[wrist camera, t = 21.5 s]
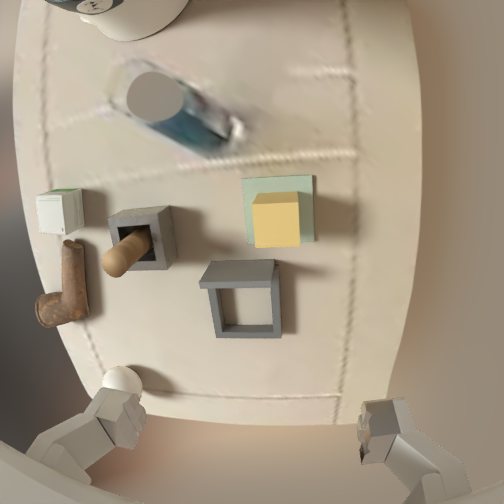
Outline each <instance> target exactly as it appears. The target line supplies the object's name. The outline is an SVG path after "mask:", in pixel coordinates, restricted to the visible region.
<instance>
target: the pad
mask: <svg viewBox="0 0 504 504" xmlns="http://www.w3.org/2000/svg"><path fill="white" fill-rule="evenodd" d="M242 185H243V196H244V206H245V217H246V228H247V238H248V245H250V244H255V237H254V225H253V213H252V203H253V201H254V200H255V198H256V196H257V194H258V193H269V192H291V191H297V194H298V206H299V231H300V243H301V242H314V213H313V187H312V175H297V176H277V177H260V178H245V179H242Z"/></svg>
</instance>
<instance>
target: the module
mask: <svg viewBox="0 0 504 504" xmlns="http://www.w3.org/2000/svg"><path fill="white" fill-rule="evenodd" d="M252 213H253V225H254V237H255V248H267V247H297V246H300V231H299V206H298V194H297V191H291V192H269V193H258V194H257V196H256V198H255V200H254V201H253V203H252Z"/></svg>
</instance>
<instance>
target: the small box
mask: <svg viewBox="0 0 504 504" xmlns="http://www.w3.org/2000/svg"><path fill="white" fill-rule="evenodd" d="M36 207H37V215H38V223H39V230H40V233H44V234H57V235H68V234H70V233H72V232H73V231H75V230H77V229H79V228H81V227H83V226H85V221H84V211H83V199H82V189H55V190H52V191H49V192H46V193H43V194H40V195H36Z"/></svg>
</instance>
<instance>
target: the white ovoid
mask: <svg viewBox="0 0 504 504" xmlns="http://www.w3.org/2000/svg"><path fill="white" fill-rule="evenodd" d="M102 387H107V388H112V389H117V390H121V391H126V392H131V393H135V394H138V396H139V398H141V394H142V390H143V388H142V382H141V379H140V378H139V376H138V375H137V373H136V372H135V371H133V370H132V369H130V368H127V367H123V366H117V367H115V368H112V369H110V370H109V371H108V372H107V373H106V374H105V375H104V377H103V380H102Z"/></svg>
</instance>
